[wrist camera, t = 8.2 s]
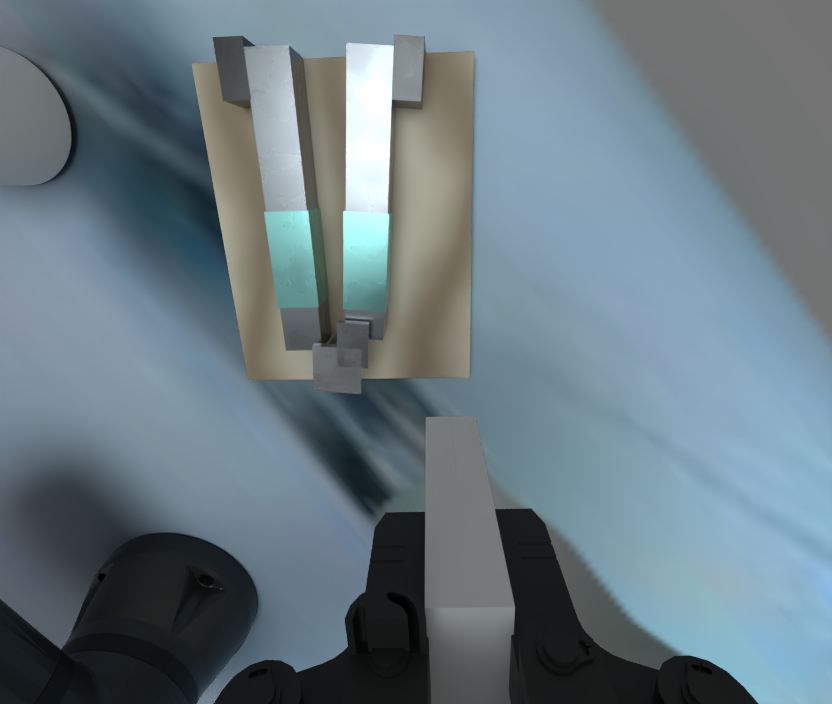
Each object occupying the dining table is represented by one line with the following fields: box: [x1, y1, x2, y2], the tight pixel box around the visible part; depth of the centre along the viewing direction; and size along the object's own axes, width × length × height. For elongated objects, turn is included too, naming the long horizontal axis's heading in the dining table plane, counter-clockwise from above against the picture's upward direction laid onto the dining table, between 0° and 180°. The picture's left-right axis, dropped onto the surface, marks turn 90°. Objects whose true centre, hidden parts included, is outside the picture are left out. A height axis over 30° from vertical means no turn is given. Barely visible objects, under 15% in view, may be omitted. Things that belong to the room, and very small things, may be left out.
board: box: [192, 51, 474, 380], centre depth 31 cm, size 17×21×1 cm
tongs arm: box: [312, 35, 426, 394], centre depth 28 cm, size 6×21×4 cm, turn 176°
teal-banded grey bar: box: [213, 36, 337, 351], centre depth 29 cm, size 7×20×3 cm, turn 2°
